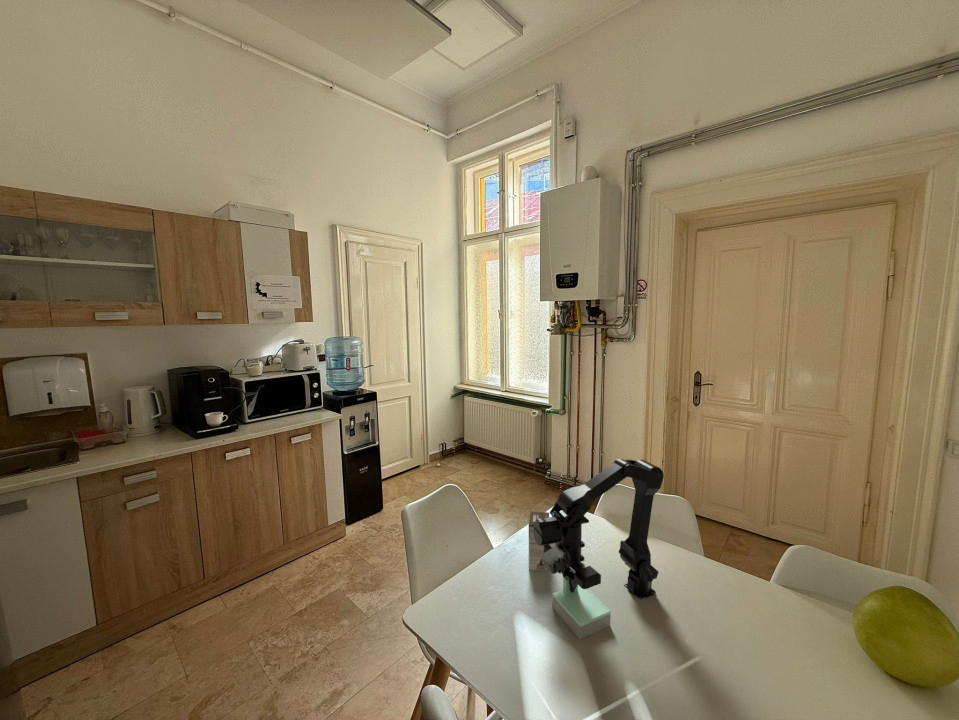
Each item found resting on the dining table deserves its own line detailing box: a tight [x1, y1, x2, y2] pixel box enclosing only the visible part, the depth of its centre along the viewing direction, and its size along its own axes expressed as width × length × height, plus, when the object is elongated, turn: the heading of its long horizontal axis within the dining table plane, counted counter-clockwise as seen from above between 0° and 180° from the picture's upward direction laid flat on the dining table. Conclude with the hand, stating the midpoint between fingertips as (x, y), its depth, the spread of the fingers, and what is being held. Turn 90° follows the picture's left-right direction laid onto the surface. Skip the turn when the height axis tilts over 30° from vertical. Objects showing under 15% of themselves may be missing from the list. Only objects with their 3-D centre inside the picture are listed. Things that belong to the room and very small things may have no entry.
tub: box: [551, 595, 611, 640], centre depth 107 cm, size 10×12×4 cm
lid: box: [552, 576, 612, 627], centre depth 106 cm, size 10×12×5 cm
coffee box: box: [528, 511, 550, 572], centre depth 130 cm, size 9×6×16 cm
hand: (570, 589), depth 111 cm, fingers closed on lid
